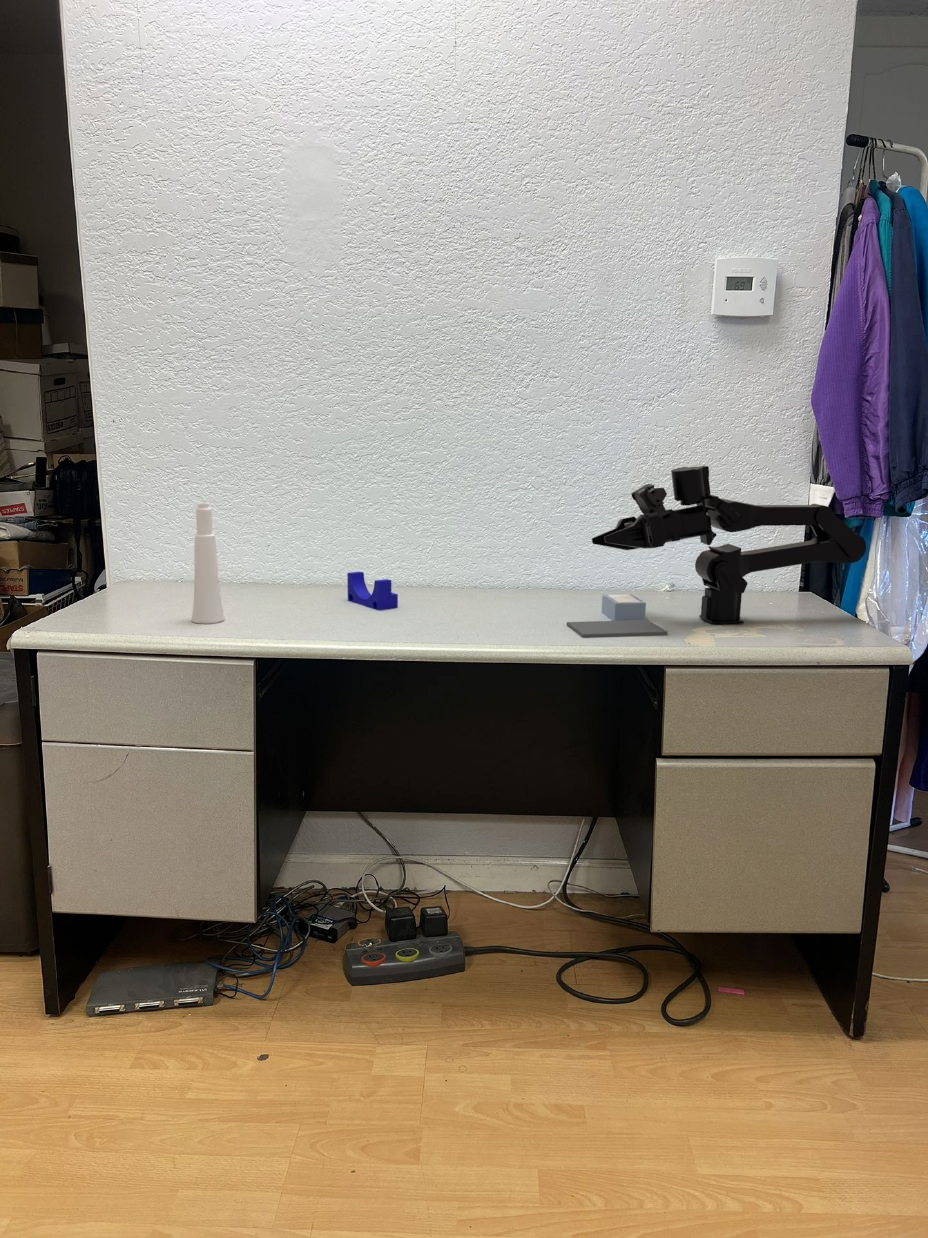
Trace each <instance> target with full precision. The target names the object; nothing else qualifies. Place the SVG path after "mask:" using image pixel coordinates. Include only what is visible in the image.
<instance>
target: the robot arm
mask: <svg viewBox="0 0 928 1238" xmlns="http://www.w3.org/2000/svg"><path fill="white" fill-rule="evenodd" d="M670 472H671V473H670V474H671V479H672V480H671V481H672V490H673V497H674V501H676V502H679V503H680V506H689V507H683V508H678V509H673V508H671V509H666V507H665V506H664V504H665V502H664V500H665V498H666V497H667V496H668V493H667V491H666V489H665V488H664V487H656V486H655V484H652V483H647V484H644V485H643V486H641V487H639V488H638V489H636V490H634V491H633V492H631V497H632V499H633V501H635V503H636V505H637V506H638V508H639V509H640V511H641V513H642V514H640V515H639V516H637V517H635V516H630V517H626V518H620V519H619V520H618V522H617V524H616V526H615V527H614V528H612V529H611V530H609V531H606V532H603V533H602V534H599V535H597V536H594V537H592V538H591V543H592V544H593V545H597V546H602V547H608V548H612V549H616V550H622V551H631V550H632V551H633V550H637V549H657V548H661V547H664V546H665V544H667V543H671V542H679V541H681V540H686V539H691V538H692V539H693V538H697V537H699V539H700V543H701V544H704V545H707V546H708V549H706V550H703V551H701V552H700V553H699V555H698V556H697V558H696V560H695V564H694V568H695V572H696V574H698V576H699V577H701V579H702V583H703V586H704V595H702V597H701V606H700V607H701V608H700V614H699V615H698V616H699V618H700V619H702V620H704V621H706V622H708V623H710V624H711V625H720V624H721V625H727V624H744V622H745V621H744V620H743V619H742V618H741V609H742V594H744V593H745V591H746V588H747V586H748V584H749V583H748V581H747V580H746V579H745V578H744V577H745V576H747V575H748V574H751V573H756V572H761V571H769V570H773V569H780V568H781V569H782V568H787V567H792V566H793V567H794V566H799V565H804V564H809V563H810V564H811V563H817V562H825V563H834V564H855V563H857V562H858V563H859V562H860V561H861V560H862V558H863V557H864V555H865V553H866V551H867V543H866V540H865V538H864V537H863V536H862V535H861V534H859V533H856V532H854V530H853V529H852V528H851V527H849V525H847V524H846V523H845V522H844V521H843V520H841V518H839V517H838V516H837V515H836V514H835V512H834V511H833V510H832V509H831V507H829V506H827V505H823V504H818V503H812V504H799V505H798V504H752V503H747V502H741V501H737V500H732V499H726V498H720V496H717V495H715V494H711V487H710V467H709V466H707V465H700V466H690V467H689V466H682V467H676V468H674V469H671V471H670ZM763 526H766V527H768V526H772V527H773V526H784V527H785V526H810V528H811V529H812V531H813V533H814V535H815V537H814V538H812V539H810V540H806V541H799V542H793V543H786V544H781V545H775V546H770V547H769V546H768V547H763V548H758V549H750V550H743V551H742V547H739V546H738V545H737V546H736V545H734V544H731V543H725V544H722V545H719V546H711V544H712V543H713V541H714V539H715V538H716V537H717V533H716V532H714V531H713V528H715V529H718V530H722V531H724V532H728V533H737V532H742V531H748V530H751V529H754V528H757V527H758V528H759V527H763Z"/></svg>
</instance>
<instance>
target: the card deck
mask: <svg viewBox="0 0 928 1238" xmlns="http://www.w3.org/2000/svg"><path fill="white" fill-rule="evenodd" d="M601 600H602V601H601V614H602V615H603V616H605V617H606V616H607V617H606V618H607V619H609V620H610V619H611V620H610V621H624V620H646V610H647V607H646V606H647V602H645V601H643V600H642V599H641V598H639V597H637V596H636V595H634V594H632V593H623V594H622V593H621V594H620V593H618V594H615V593H613V594H612V593H611V594H610V593H609V594H605V593H604V594H602V597H601Z"/></svg>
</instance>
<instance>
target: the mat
mask: <svg viewBox="0 0 928 1238" xmlns="http://www.w3.org/2000/svg"><path fill="white" fill-rule="evenodd" d="M566 626H567V627H568V628H570V629H571V630H572V631H574V632H575V633H576V634H577V635H579V636H580V637H581V638H605V637H606V638H610V637H612V638H613V637H614V636H615V637H644V636H645V637H647V636H649V637H650V636H668V633H669V632H668V630H665V629H664V628H663V627H660V626H659V625H657V624H655V623H654V622H652V621H650V620H649V619H645V620H624V621H612V620H597V621H596V620H595V621H593V620H591V621H587V620H586V621H566ZM615 637H614V638H615Z"/></svg>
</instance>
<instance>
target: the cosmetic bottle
mask: <svg viewBox="0 0 928 1238" xmlns="http://www.w3.org/2000/svg"><path fill="white" fill-rule="evenodd" d="M210 504H211V503H210V501H209V502H206V501H201V502H197V503H196V506H197V507H196V509H195V518H196V519H195V521H196V534H195V535H194V547H193V548H194V549H193V550H194V552H193V553H194V556H193V558H194V560H193V561H194V562H193V563H194V564H193V565H194V567H193V568H194V569H193V570H194V571H193V572H194V574H193V575H194V581H193V582H194V583H193V585H194V586H193V588H194V589H193V590H194V591H193V603H192V604H193V606H192V614H191V622H192V623H195V624H199V625H201V624H202V625H205V624H206V625H207V624H209V625H210V624H211V625H212V624H218V623H222V622H224V621H225V620H226V617H225V614H224V607H223V602H222V597H221V595H222V594H221V588H220V587H221V586H220V578H219V565H218V564H219V563H218V555H217V554H218V553H217V544H216V535H215V534H214V533H213V515H212V510H213V509H212V507H210Z"/></svg>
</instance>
